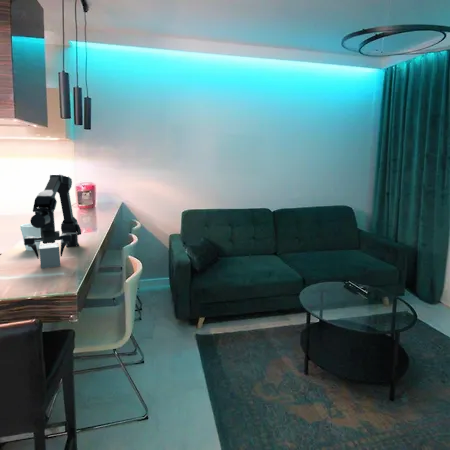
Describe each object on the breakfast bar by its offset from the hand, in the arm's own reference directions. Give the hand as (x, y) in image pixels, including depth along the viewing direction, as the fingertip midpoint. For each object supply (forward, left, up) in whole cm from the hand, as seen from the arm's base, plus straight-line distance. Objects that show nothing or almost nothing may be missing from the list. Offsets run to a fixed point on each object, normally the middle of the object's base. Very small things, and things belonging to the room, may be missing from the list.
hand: (49, 257), depth 153 cm
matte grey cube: (0, 0, -4) cm, 4 cm away
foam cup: (-32, -7, -4) cm, 33 cm away
